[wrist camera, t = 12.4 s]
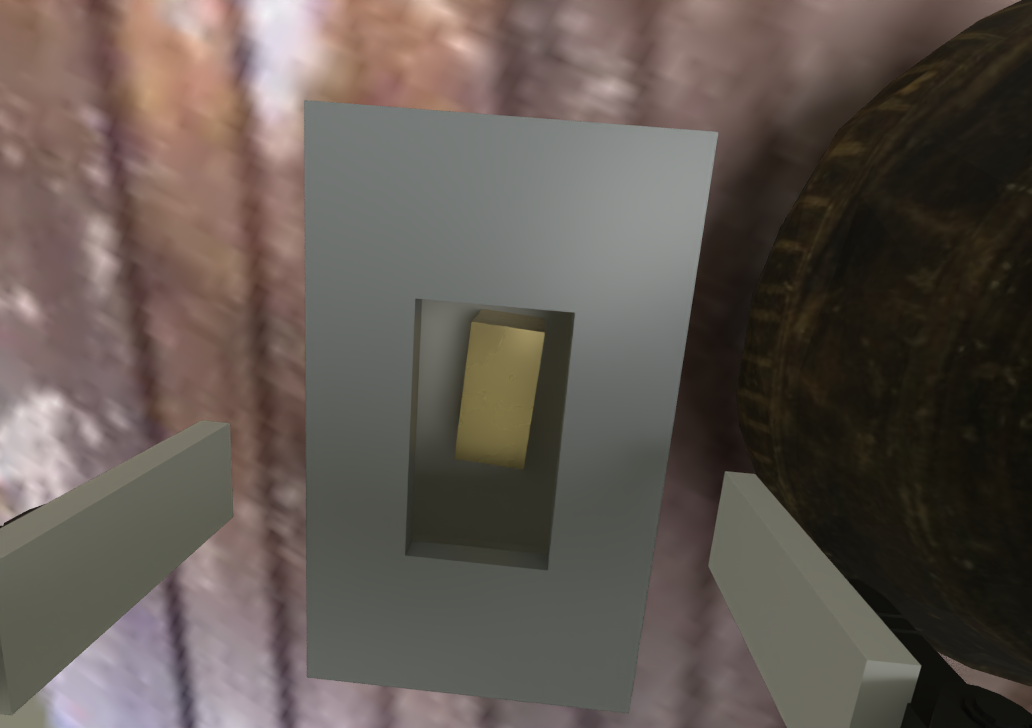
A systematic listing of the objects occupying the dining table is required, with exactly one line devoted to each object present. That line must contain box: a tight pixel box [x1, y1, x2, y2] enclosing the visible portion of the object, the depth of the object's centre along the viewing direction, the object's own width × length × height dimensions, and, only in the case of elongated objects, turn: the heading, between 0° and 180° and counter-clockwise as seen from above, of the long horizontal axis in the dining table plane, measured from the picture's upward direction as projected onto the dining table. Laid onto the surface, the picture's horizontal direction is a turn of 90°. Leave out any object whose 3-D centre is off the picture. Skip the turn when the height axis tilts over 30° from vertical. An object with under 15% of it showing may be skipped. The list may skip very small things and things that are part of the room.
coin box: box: [304, 100, 718, 713], centre depth 23 cm, size 20×12×10 cm, turn 175°
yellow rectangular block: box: [454, 309, 545, 469], centre depth 25 cm, size 6×3×4 cm, turn 172°
